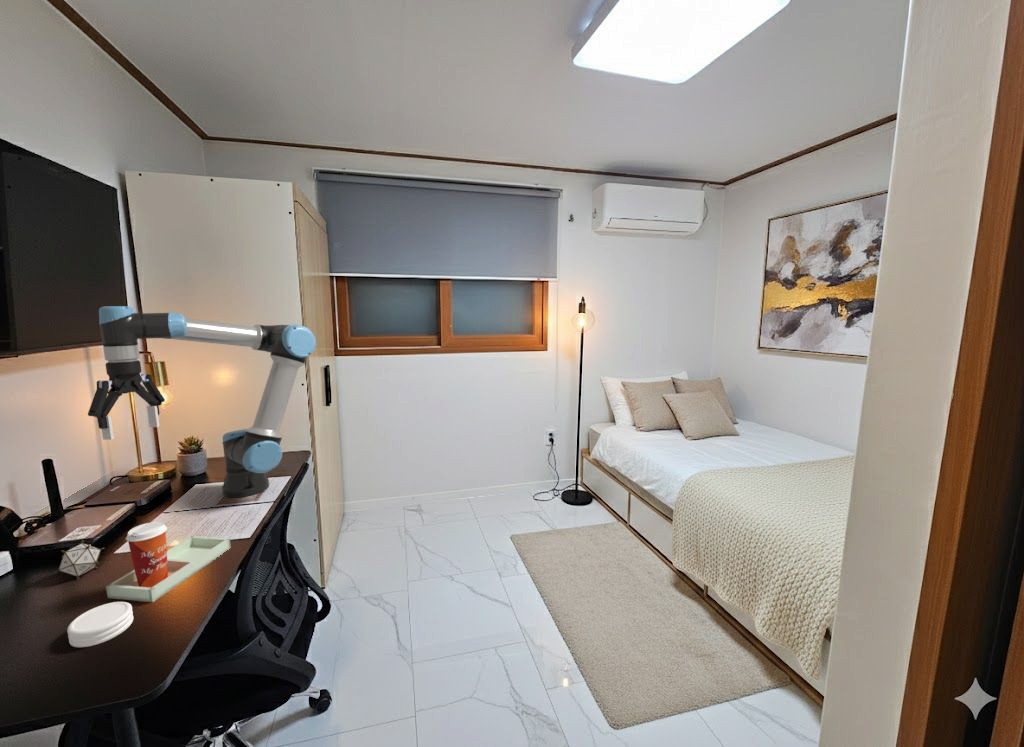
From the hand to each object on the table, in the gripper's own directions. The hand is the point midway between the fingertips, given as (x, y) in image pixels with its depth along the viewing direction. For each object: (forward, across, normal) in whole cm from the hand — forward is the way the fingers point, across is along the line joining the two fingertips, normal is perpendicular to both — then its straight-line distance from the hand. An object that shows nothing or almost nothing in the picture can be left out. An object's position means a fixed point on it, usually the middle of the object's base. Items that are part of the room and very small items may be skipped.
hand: (132, 432), depth 129 cm
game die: (+32, +20, +3) cm, 38 cm away
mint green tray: (+32, +16, +26) cm, 44 cm away
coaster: (+32, +37, +30) cm, 57 cm away
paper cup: (+31, +22, +26) cm, 46 cm away
